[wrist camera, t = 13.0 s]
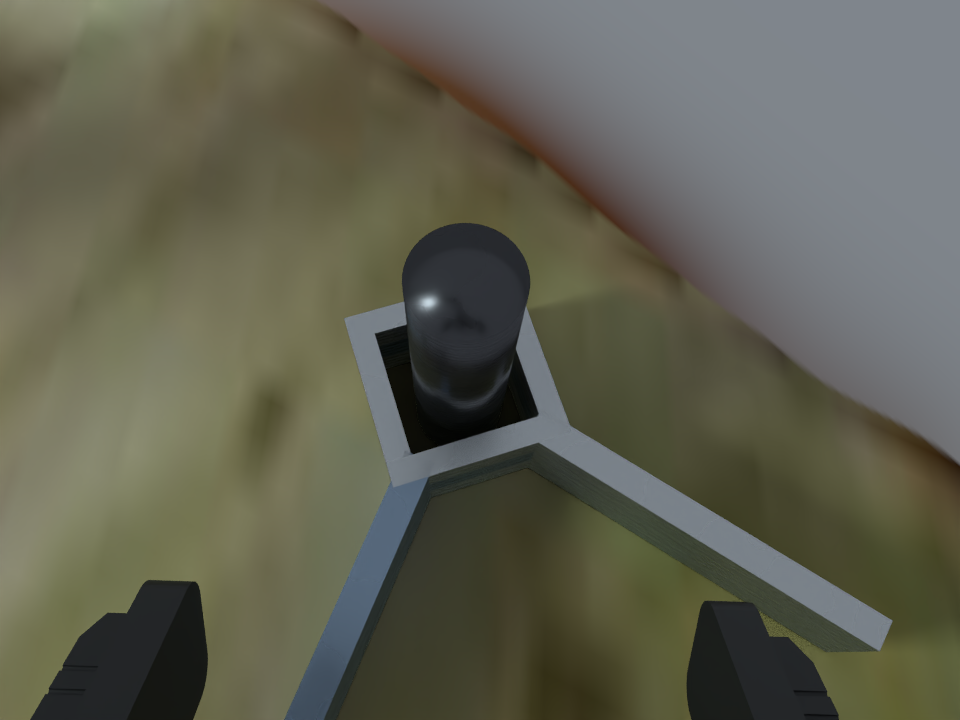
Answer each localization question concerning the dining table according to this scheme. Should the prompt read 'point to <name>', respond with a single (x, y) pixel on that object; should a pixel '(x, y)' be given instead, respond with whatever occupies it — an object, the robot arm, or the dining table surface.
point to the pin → (463, 326)
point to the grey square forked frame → (579, 472)
